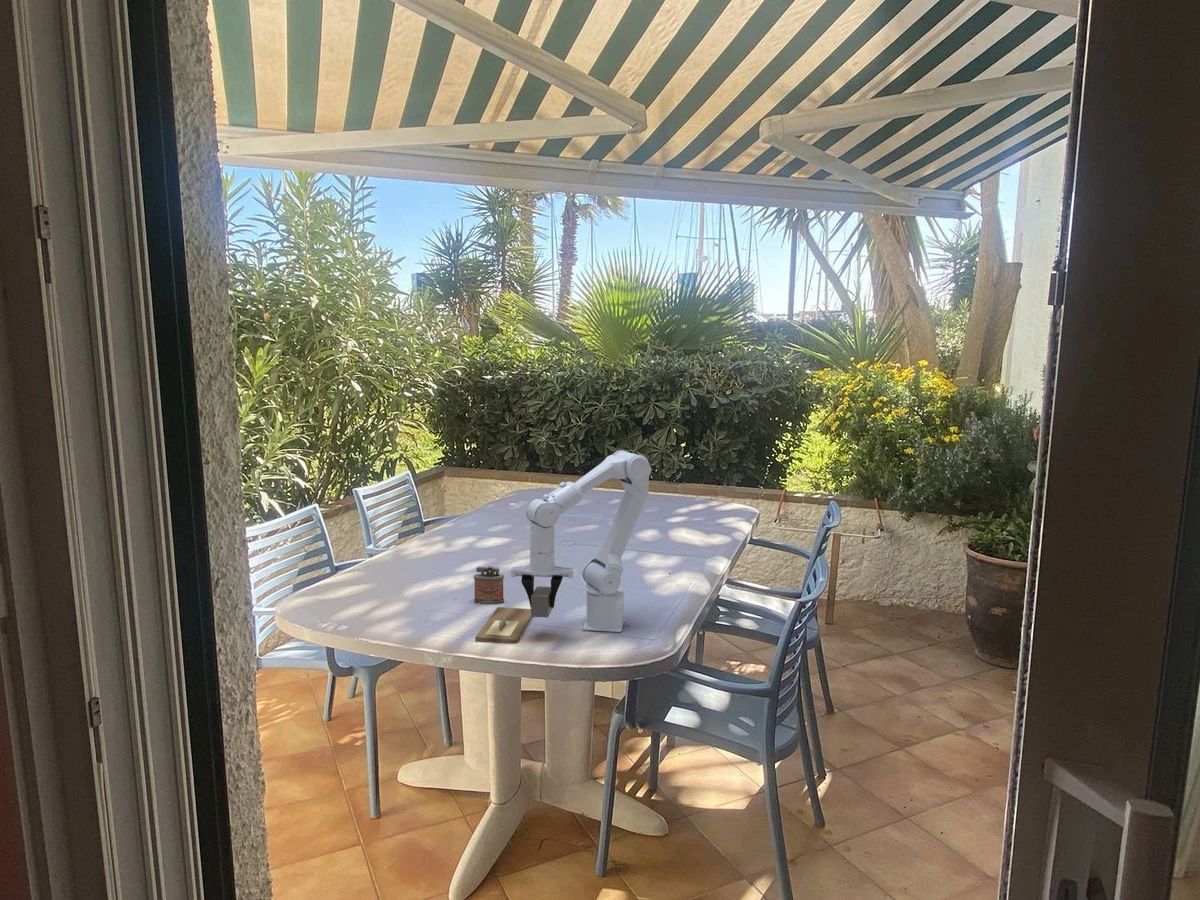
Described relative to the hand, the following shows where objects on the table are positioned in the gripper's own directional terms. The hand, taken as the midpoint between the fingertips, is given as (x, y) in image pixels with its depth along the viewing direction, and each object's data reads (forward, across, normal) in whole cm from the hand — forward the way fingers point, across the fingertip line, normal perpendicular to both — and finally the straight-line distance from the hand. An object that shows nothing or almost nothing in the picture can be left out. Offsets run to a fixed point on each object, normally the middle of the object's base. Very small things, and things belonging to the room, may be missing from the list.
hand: (542, 605), depth 173 cm
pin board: (+8, +10, -6) cm, 14 cm away
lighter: (+8, +17, -22) cm, 29 cm away
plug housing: (+1, 0, 0) cm, 1 cm away
